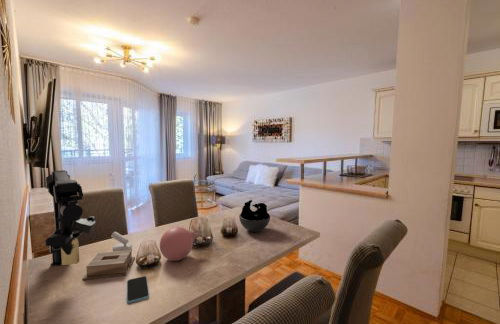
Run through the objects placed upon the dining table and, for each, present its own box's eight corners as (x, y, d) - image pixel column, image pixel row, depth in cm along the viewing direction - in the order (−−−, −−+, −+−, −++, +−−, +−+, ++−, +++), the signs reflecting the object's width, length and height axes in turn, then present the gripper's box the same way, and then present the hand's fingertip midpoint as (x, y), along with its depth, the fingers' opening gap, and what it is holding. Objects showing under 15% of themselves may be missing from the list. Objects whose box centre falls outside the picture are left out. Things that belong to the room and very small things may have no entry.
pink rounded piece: (206, 257, 112) (206, 227, 111) (165, 270, 100) (164, 237, 99) (194, 246, 125) (194, 218, 123) (156, 256, 113) (155, 226, 112)
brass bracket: (76, 263, 89) (75, 237, 88) (61, 265, 88) (60, 238, 87) (79, 261, 91) (78, 235, 90) (64, 262, 89) (63, 236, 89)
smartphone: (146, 275, 96) (149, 295, 83) (146, 278, 96) (149, 298, 83) (126, 280, 93) (126, 302, 79) (127, 282, 93) (126, 305, 80)
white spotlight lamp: (118, 228, 123) (134, 230, 121) (119, 245, 124) (135, 247, 122) (105, 234, 115) (122, 236, 113) (106, 253, 116) (123, 255, 114)
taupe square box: (125, 275, 96) (125, 264, 96) (82, 280, 93) (81, 268, 92) (134, 258, 111) (134, 248, 110) (97, 261, 107) (97, 251, 107)
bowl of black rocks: (271, 237, 138) (271, 207, 136) (238, 236, 138) (238, 206, 137) (268, 225, 158) (269, 198, 156) (239, 224, 158) (240, 198, 157)
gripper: (79, 221, 80) (81, 263, 81) (101, 206, 98) (103, 241, 100) (42, 222, 78) (45, 266, 79) (72, 207, 96) (74, 243, 97)
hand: (70, 253), depth 89 cm, fingers closed on brass bracket, 2 cm apart
